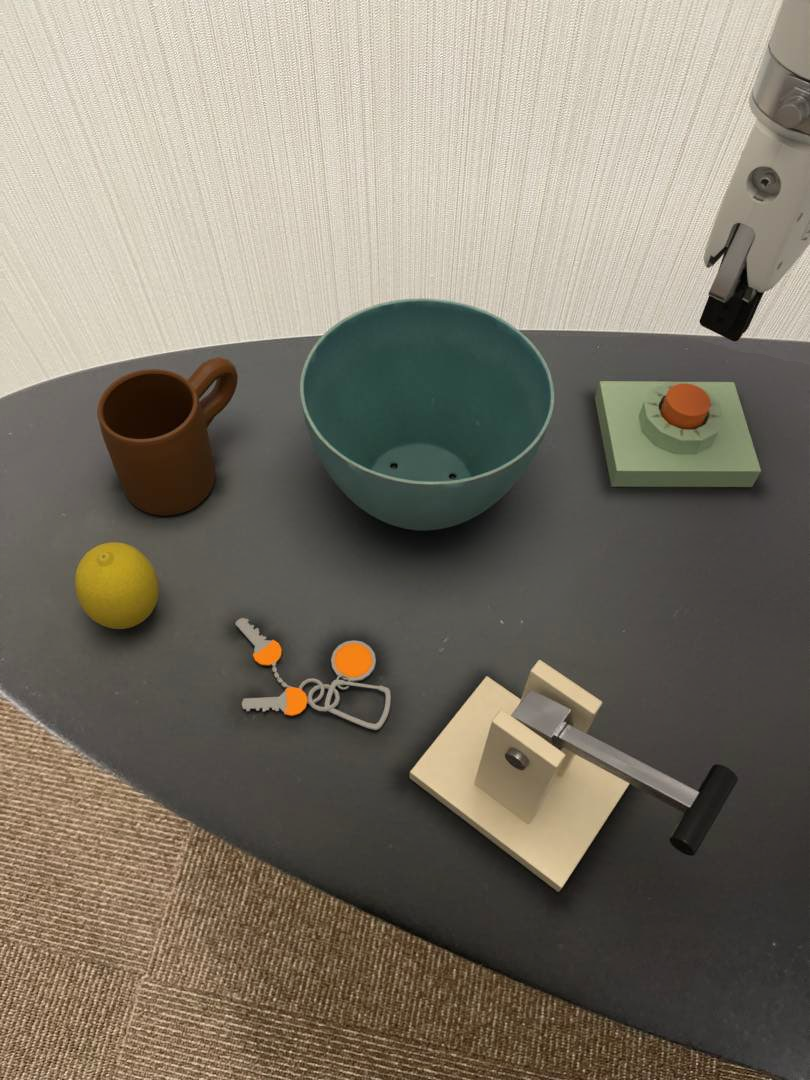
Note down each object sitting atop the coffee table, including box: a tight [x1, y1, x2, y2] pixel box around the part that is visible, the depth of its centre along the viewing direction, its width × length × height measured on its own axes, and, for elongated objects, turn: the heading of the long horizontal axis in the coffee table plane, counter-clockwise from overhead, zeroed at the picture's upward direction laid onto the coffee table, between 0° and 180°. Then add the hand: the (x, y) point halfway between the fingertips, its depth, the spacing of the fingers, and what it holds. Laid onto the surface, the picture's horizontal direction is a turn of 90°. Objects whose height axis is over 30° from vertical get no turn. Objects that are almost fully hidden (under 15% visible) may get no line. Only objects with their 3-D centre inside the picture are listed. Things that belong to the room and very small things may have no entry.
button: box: [661, 383, 711, 429], centre depth 75 cm, size 4×4×2 cm
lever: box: [511, 689, 738, 857], centre depth 51 cm, size 12×5×2 cm, turn 52°
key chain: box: [234, 617, 392, 731], centre depth 65 cm, size 13×7×1 cm, turn 76°
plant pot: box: [299, 297, 555, 531], centre depth 70 cm, size 18×18×12 cm
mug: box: [96, 356, 238, 517], centre depth 72 cm, size 12×8×9 cm, turn 139°
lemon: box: [74, 541, 160, 630], centre depth 64 cm, size 6×6×8 cm
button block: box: [594, 380, 762, 488], centre depth 77 cm, size 12×10×4 cm
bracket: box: [408, 659, 631, 893], centre depth 57 cm, size 12×9×12 cm
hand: (722, 327), depth 68 cm, fingers closed
